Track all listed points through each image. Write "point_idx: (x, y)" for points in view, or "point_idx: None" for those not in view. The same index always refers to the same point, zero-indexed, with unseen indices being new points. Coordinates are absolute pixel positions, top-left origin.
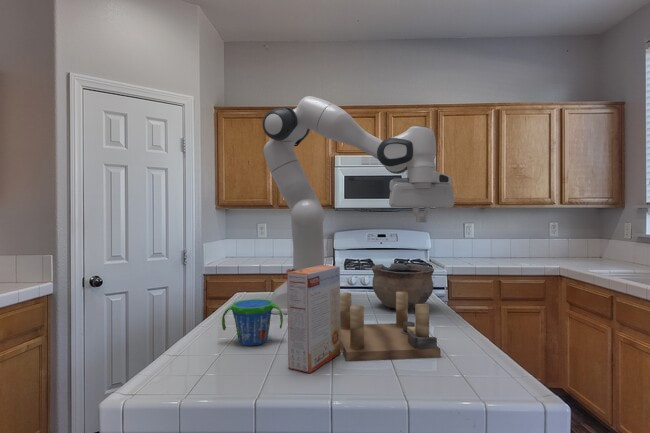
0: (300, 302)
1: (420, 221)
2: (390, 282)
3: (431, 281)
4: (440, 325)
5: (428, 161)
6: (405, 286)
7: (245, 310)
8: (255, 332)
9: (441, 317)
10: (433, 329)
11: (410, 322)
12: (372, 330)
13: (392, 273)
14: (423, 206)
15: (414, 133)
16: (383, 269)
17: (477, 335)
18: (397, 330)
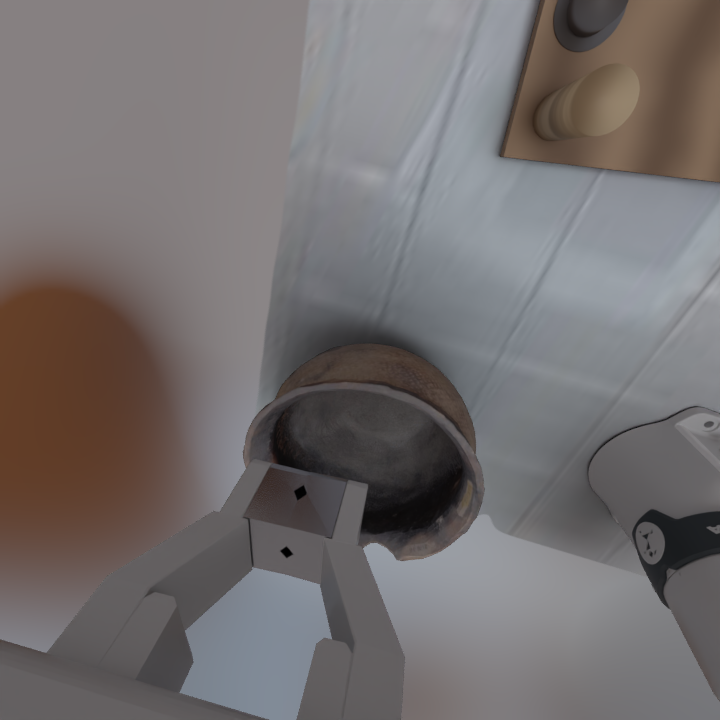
0: None
1: (336, 478)
2: (451, 404)
3: (285, 388)
4: (368, 184)
5: None
6: (406, 367)
7: None
8: None
9: (320, 271)
10: (415, 142)
11: (591, 5)
12: (712, 75)
13: (449, 419)
14: (196, 716)
15: None
16: (397, 536)
17: (310, 30)
18: (614, 52)
